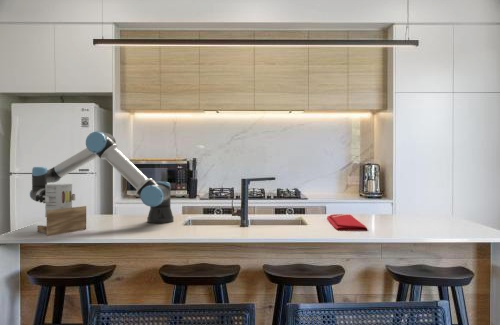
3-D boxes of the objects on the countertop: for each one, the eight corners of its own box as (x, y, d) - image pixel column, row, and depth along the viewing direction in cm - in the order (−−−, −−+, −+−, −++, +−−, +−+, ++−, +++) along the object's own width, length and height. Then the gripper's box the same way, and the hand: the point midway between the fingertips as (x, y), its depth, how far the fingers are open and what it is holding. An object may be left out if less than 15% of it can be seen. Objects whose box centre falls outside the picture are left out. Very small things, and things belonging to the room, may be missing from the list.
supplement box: (60, 218, 214) (60, 184, 214) (44, 217, 216) (44, 184, 216) (72, 215, 223) (72, 183, 223) (56, 215, 225) (56, 183, 225)
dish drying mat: (336, 231, 218) (336, 224, 218) (326, 220, 258) (326, 213, 258) (367, 231, 217) (367, 224, 217) (352, 220, 258) (352, 214, 258)
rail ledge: (86, 229, 223) (86, 206, 223) (48, 235, 204) (47, 210, 203) (67, 226, 230) (67, 204, 230) (28, 233, 211) (28, 208, 211)
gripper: (68, 201, 241) (85, 204, 226) (21, 204, 223) (36, 207, 208) (68, 188, 241) (85, 190, 226) (21, 190, 223) (36, 192, 208)
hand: (61, 198), depth 217 cm, fingers closed on supplement box, 12 cm apart
